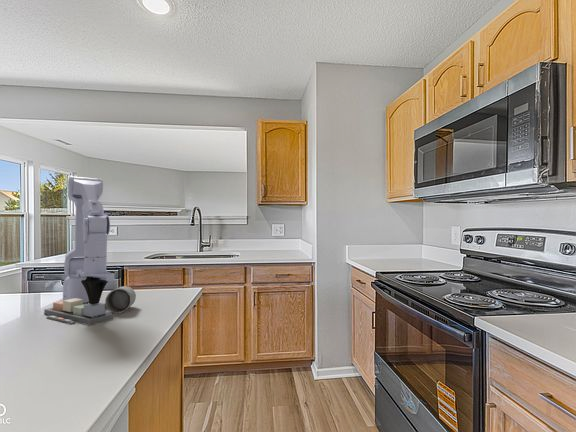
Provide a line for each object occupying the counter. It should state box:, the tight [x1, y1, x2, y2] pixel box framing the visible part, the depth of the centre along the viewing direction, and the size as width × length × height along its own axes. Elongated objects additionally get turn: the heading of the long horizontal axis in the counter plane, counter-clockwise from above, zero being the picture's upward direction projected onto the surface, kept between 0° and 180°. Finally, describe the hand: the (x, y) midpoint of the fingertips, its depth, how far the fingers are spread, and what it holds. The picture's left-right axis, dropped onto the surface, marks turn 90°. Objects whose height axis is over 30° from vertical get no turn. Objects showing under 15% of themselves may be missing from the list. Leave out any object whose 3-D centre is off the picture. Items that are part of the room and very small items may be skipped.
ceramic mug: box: [104, 285, 137, 314], centre depth 110 cm, size 11×8×8 cm
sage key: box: [73, 303, 86, 316], centre depth 101 cm, size 4×4×3 cm
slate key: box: [84, 302, 106, 318], centre depth 99 cm, size 4×4×3 cm
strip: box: [46, 315, 76, 325], centre depth 98 cm, size 12×1×1 cm, turn 64°
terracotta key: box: [52, 300, 63, 311], centre depth 106 cm, size 4×4×3 cm
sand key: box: [63, 298, 84, 312], centre depth 103 cm, size 4×4×3 cm
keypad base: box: [43, 307, 114, 326], centre depth 102 cm, size 22×7×1 cm, turn 64°
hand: (94, 303), depth 99 cm, fingers closed
